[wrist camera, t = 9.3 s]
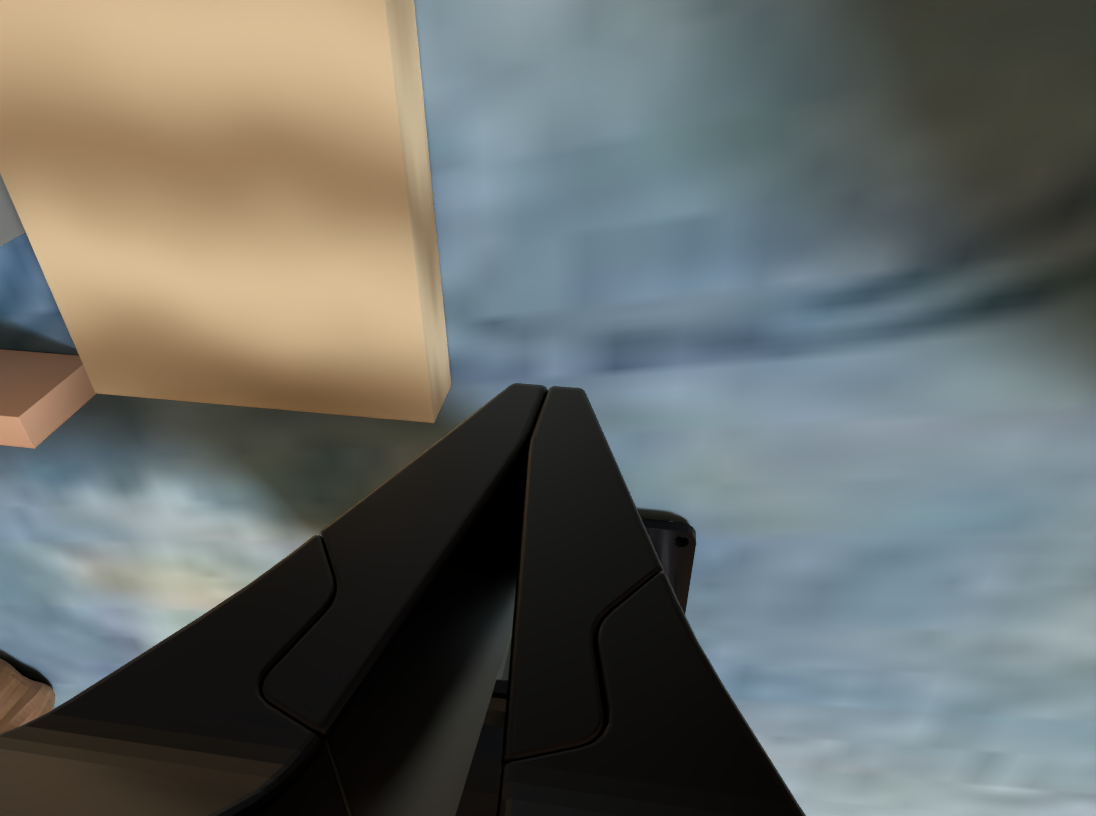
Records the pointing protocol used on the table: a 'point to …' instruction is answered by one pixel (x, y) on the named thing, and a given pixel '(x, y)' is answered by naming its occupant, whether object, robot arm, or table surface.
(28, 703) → the cupcake
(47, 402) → the fence
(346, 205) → the bench board
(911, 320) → the table surface
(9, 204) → the grey square block
